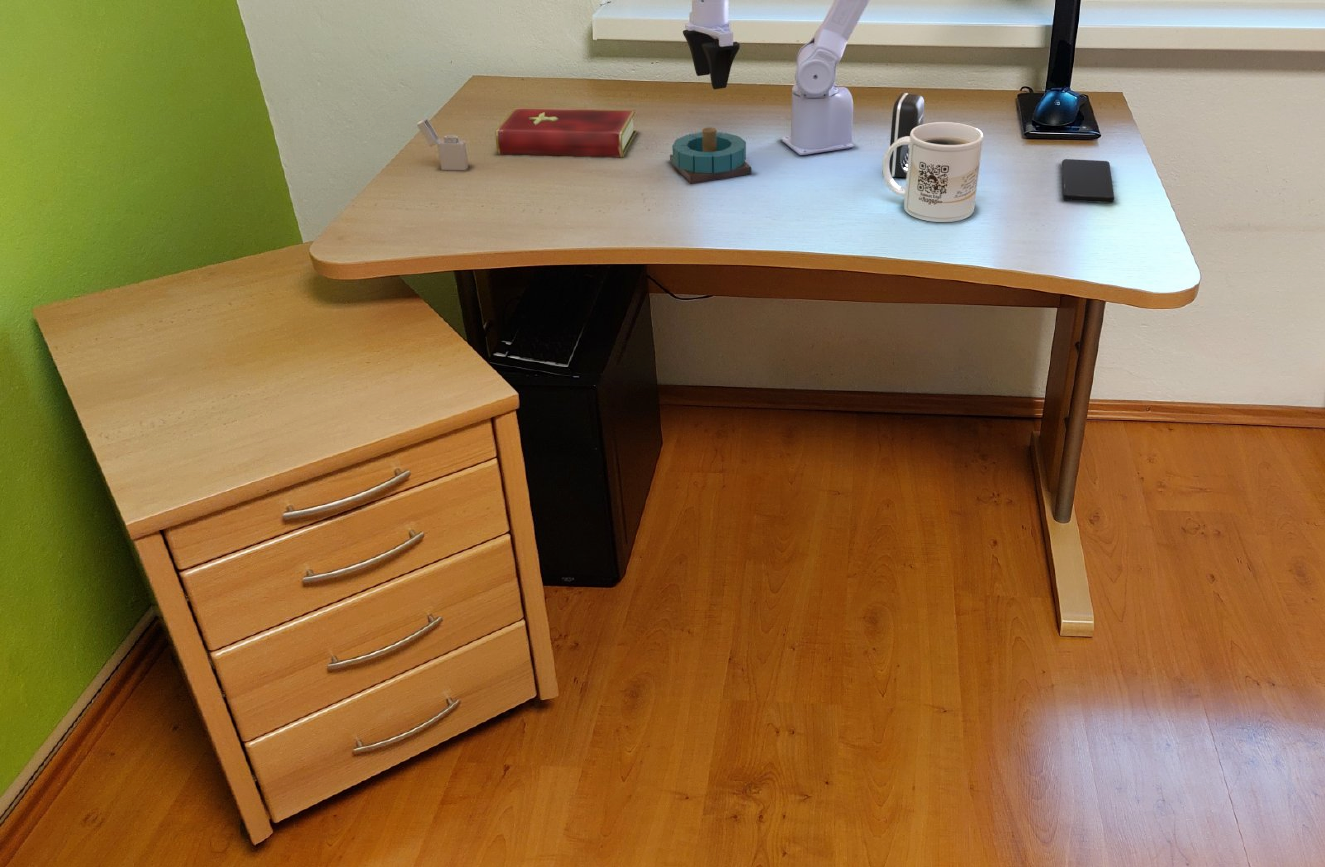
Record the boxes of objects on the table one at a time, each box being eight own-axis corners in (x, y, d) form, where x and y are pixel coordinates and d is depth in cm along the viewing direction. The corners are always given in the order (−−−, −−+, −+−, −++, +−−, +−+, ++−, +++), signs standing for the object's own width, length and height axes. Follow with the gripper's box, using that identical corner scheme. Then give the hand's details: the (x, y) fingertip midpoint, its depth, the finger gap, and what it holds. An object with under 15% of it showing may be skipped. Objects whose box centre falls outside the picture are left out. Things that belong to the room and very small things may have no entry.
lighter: (468, 166, 183) (462, 117, 178) (465, 170, 181) (458, 121, 177) (426, 165, 184) (419, 116, 179) (423, 169, 182) (415, 120, 178)
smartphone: (1063, 195, 162) (1062, 158, 174) (1062, 201, 163) (1061, 163, 175) (1114, 198, 160) (1109, 160, 172) (1113, 203, 161) (1108, 166, 173)
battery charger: (911, 180, 171) (918, 105, 165) (886, 178, 172) (892, 103, 166) (920, 164, 177) (927, 91, 170) (896, 162, 178) (902, 89, 171)
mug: (929, 229, 156) (936, 151, 150) (876, 200, 165) (881, 126, 159) (988, 213, 160) (998, 136, 154) (933, 186, 169) (941, 113, 163)
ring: (729, 143, 184) (729, 128, 182) (756, 166, 175) (756, 150, 173) (664, 153, 181) (663, 138, 180) (687, 177, 172) (687, 161, 171)
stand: (728, 153, 184) (728, 115, 180) (751, 174, 176) (751, 135, 172) (669, 162, 181) (668, 124, 178) (690, 183, 173) (689, 144, 170)
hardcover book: (622, 158, 183) (621, 132, 181) (497, 154, 187) (494, 129, 184) (636, 133, 193) (634, 108, 191) (517, 130, 196) (514, 106, 194)
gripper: (670, -15, 179) (673, 72, 186) (701, 5, 167) (702, 97, 175) (712, -20, 180) (713, 67, 188) (746, 0, 169) (745, 91, 176)
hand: (711, 81), depth 181 cm, fingers open, 7 cm apart
